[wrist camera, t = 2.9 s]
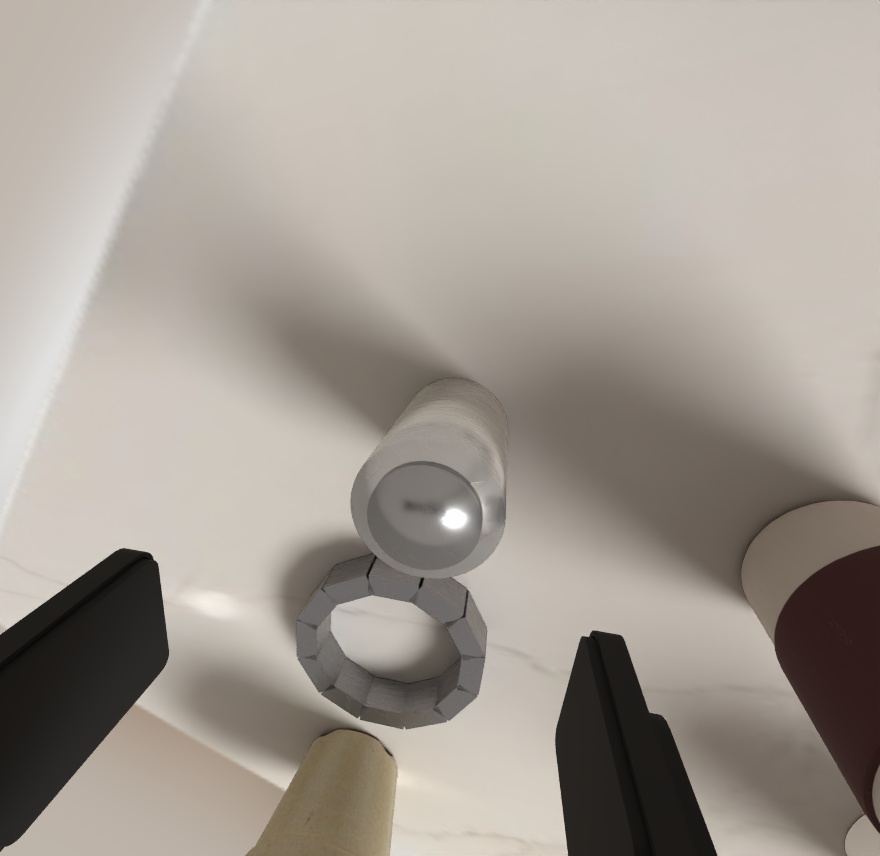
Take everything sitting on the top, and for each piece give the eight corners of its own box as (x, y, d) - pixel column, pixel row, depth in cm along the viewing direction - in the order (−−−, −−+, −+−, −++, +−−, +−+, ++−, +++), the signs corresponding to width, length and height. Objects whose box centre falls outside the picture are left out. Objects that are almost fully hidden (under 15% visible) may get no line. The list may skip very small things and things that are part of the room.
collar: (311, 539, 25) (296, 561, 23) (497, 573, 24) (496, 599, 22) (311, 677, 29) (297, 705, 27) (472, 711, 28) (469, 743, 26)
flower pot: (402, 705, 29) (360, 877, 21) (437, 806, 31) (411, 993, 23) (271, 711, 31) (185, 870, 23) (314, 806, 33) (252, 977, 25)
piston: (408, 371, 21) (347, 433, 13) (515, 386, 21) (518, 460, 13) (401, 467, 23) (342, 573, 15) (499, 483, 22) (492, 601, 15)
